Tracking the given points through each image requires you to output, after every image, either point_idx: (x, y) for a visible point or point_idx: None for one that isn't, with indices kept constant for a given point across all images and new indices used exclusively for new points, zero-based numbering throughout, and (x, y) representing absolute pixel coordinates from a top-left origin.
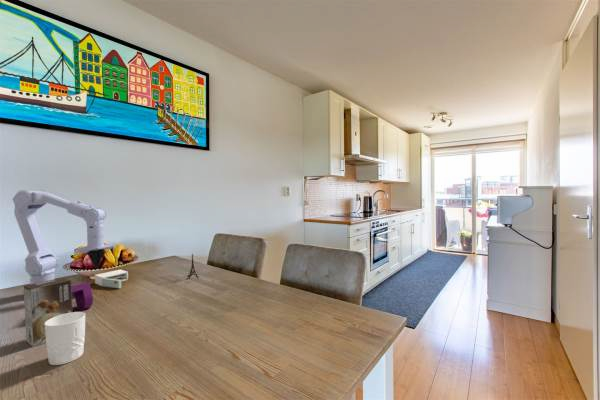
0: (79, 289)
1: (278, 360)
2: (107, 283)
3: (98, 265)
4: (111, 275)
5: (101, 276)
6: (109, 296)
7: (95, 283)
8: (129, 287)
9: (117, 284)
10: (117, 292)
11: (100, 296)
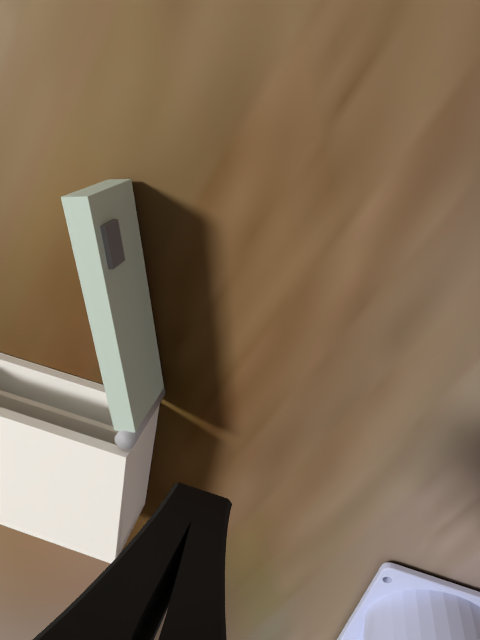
0: None
1: None
2: (143, 352)
3: (176, 515)
4: (46, 430)
5: (110, 487)
6: (335, 26)
7: (145, 497)
8: (56, 114)
9: (117, 214)
10: (207, 79)
11: (362, 145)
